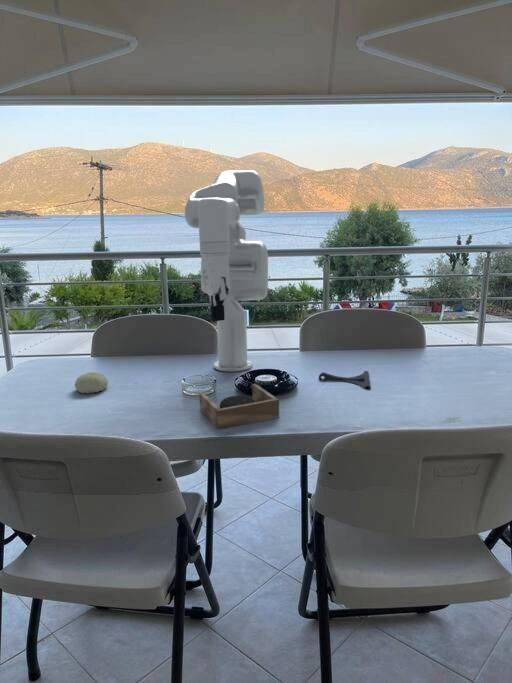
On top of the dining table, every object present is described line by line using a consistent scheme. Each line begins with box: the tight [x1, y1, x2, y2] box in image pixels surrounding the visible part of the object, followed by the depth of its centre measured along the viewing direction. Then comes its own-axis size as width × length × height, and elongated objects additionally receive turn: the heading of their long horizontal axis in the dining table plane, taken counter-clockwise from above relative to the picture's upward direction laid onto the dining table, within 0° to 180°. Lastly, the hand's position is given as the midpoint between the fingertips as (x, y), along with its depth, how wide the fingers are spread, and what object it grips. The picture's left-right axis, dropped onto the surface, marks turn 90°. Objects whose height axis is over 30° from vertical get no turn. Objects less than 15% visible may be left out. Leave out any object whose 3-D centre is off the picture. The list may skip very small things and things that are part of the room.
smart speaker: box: [219, 395, 255, 409], centre depth 118 cm, size 9×9×4 cm
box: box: [198, 383, 280, 430], centre depth 119 cm, size 14×16×4 cm
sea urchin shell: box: [74, 371, 109, 394], centre depth 140 cm, size 9×8×8 cm
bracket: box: [318, 370, 372, 390], centre depth 143 cm, size 14×15×3 cm
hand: (217, 320), depth 126 cm, fingers closed
